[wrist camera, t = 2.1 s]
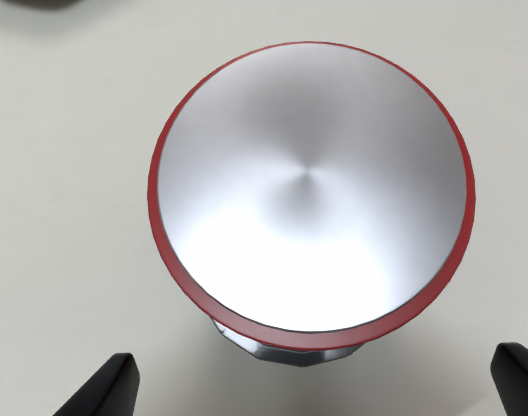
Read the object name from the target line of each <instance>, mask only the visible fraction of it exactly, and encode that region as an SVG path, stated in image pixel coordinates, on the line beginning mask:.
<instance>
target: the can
mask: <svg viewBox="0 0 528 416" xmlns="http://www.w3.org/2000/svg"><path fill="white" fill-rule="evenodd" d="M147 201H148V213H149V220H150V224H151V229H152V233H153V237H154V240H155V243H156V245H157V248H158V251H159V253H160V256H161V258H162V260H163V261H164V263H165V265H166V267H167V269H168V271H169V272H170V274H171V276H172V277H173V279H174V280H175V281H176V283H177V284H178V285H179V287H180V288H181V289H182V291H183V292H184V293H185V294H186V295H187V296H188V297H189V298H190V299H191V300H192V301H193V302H194V303H195V304H196V305H197V306H198V307H199V308H200V309H201V310H202V311H203V312H205V313H206V314H207V315H209V316H210V317H211V318H213V319H214V320H215V321H216V322H218V323H220V324H221V325H223V326H225V327H227V328H228V329H230V330H232V331H234V332H235V333H237V334H239V335H242V336H244V337H247V338H249V339H252V340H254V341H257V342H259V343H263V344H267V345H271V346H275V347H279V348H283V349H293V350H302V351H322V350H335V349H341V348H346V347H352V346H357V345H360V344H363V343H366V342H369V341H372V340H375V339H378V338H380V337H382V336H384V335H386V334H388V333H390V332H392V331H394V330H396V329H398V328H400V327H401V326H403V325H404V324H406V323H407V322H409V321H410V320H412V319H413V318H415V317H416V316H417V315H419V314H420V313H421V312H422V311H423V310H424V309H425V308H426V307H427V306H429V305H430V304H431V303H432V302H433V301H434V300H435V299H436V298H437V297H438V295H439V294H440V293H441V292H442V290H443V289H444V288H445V287H446V285H447V284H448V283H449V282H450V280H451V278H452V276H453V275H454V273H455V271H456V270H457V268H458V266H459V264H460V263H461V261H462V258H463V255H464V253H465V250H466V248H467V245H468V243H469V239H470V235H471V231H472V226H473V222H474V213H475V201H476V196H475V180H474V174H473V169H472V164H471V159H470V156H469V153H468V150H467V147H466V145H465V142H464V139H463V137H462V135H461V133H460V131H459V129H458V127H457V125H456V123H455V122H454V120H453V118H452V117H451V116H450V114H449V113H448V111H447V110H446V108H445V107H444V105H443V104H442V103H441V102H440V101H439V100H438V99H437V97H436V96H435V95H434V94H433V93H432V92H431V91H430V90H429V89H428V88H427V87H426V86H425V85H424V84H422V83H421V82H420V81H419V80H418V79H417V78H416V77H414V76H413V75H411V74H410V73H408V72H407V71H406V70H404V69H403V68H401V67H400V66H398V65H396V64H394V63H392V62H390V61H389V60H387V59H385V58H383V57H381V56H378V55H376V54H373V53H370V52H368V51H365V50H362V49H359V48H355V47H351V46H347V45H343V44H336V43H329V42H311V41H304V42H291V43H283V44H278V45H272V46H268V47H264V48H261V49H258V50H255V51H251V52H249V53H246V54H244V55H242V56H239V57H237V58H235V59H233V60H231V61H229V62H227V63H226V64H224V65H222V66H220V67H219V68H217V69H216V70H214V71H213V72H211V73H210V74H209V75H207V76H206V77H205V78H203V79H202V80H201V81H200V82H199V83H198V84H197V85H196V86H195V87H193V88H192V89H191V90H190V91H189V92H188V93H187V94H186V96H185V97H184V98H183V99H182V100H181V102H180V103H179V104H178V105H177V106H176V108H175V109H174V111H173V113H172V114H171V116H170V117H169V119H168V120H167V122H166V124H165V126H164V128H163V130H162V132H161V134H160V136H159V138H158V141H157V144H156V147H155V150H154V153H153V156H152V160H151V165H150V170H149V176H148V191H147Z"/></svg>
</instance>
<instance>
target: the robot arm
mask: <svg viewBox="0 0 528 416" xmlns="http://www.w3.org/2000/svg"><path fill="white" fill-rule="evenodd" d="M490 369H491V374H492V377H493V380H494V383H495V385H496V388H497V390H498V393H499V395H500V398H501V401H502V403H503V406H504V409H505V411H506V414H507V416H528V349H527V348H525V347H524V346H522V345H521V344H519V343H515V342H509V343H500V344H498V346H497V348H496V351H495V353H494V356H493V359H492V362H491V366H490ZM139 382H140V374H139V371H138V368H137V365H136V362H135V360H134V357H133V355H132V354H131V353H116V354H114V355H113V356H112V357H111V358H110V359H109V360H108V361H107V362H106V363H105V364H104V365H103V366H102V367H101V368H100V369H99V370H98V371H97V372H96V373H95V374H94V375H93V376H92V377H91V378H90V379H89V380H88V381H87V382H86V383H85V384H84V385H83V386H82V387H81V388H80V389H79V390H78V391H77V392H76V393H75V394H74V395H73V396H72V397H71V398H70V399H69V400H68V401H67V402H66V403H65V404H64V405H63V406H62V407H61V408H60V409H59V410H58V411H57V412H56V413H55V414H54V415H53V416H133V412H134V407H135V402H136V397H137V392H138V387H139Z"/></svg>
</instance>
